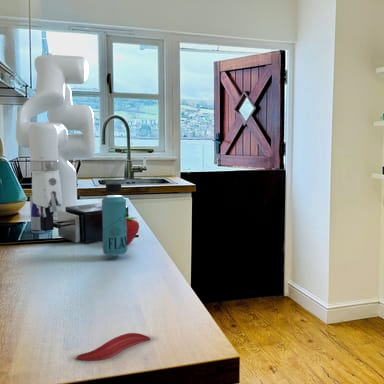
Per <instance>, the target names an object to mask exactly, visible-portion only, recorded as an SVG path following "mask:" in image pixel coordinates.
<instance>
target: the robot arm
mask: <svg viewBox="0 0 384 384" xmlns="http://www.w3.org/2000/svg"><path fill="white" fill-rule="evenodd" d="M34 69H35V72H36V84H35V93H34V94H33V95H32V96H30V97H29V98H28V99H27V100H26V101H25V102H24V103H23V104H22V105H21V107H20V108H19V110H18V112H17V115H16V124H15V140H16V143H17V144H18V145H19V146H20V147H21V148H25V149H26V148H27V149H29V167H30V170H29V171H30V173H32V175H31V196H32V199H33V203H34V204H36V205H37V208H38V209H39V215H40V216H42V217H40V228H41V230H43V231H48V230H49V231H53V230H54V229H55V227H54V222H58V212H57V211H64V212H66V211H65V210H66V209H65V207H70V206H78V185H77V184H78V183H77V181H78V180H77V170H76V168H75V167H74V166H73V164H72V163H71V162H70V160H91V159H93V158H94V157H95V155H96V131H95V130H96V129H95V115H94V112H93V111H94V110H93V109H92V107H91V106H90V105H89V104H88V105H87V104H76V103H75V104H74V103H73V97H72V94H73V93H72V90H71V89H72V88H71V87H70V86H69V85H83V84H84V83H86V81H87V79H88V76H89V64H88V61H87V59H86V58H85V57H84V56H78V55H62V54H60V55H59V54H43V55H42V54H41V55H38V56H36V57H35V58H34ZM46 112H47V121H48V122H41V121H39V122H37V121H35V122H34V121H31V120H32V119H33V118H34V117H36V116H38V115H40V114H43V113H46ZM69 131H79V132H80V133H69ZM49 231H48V232H49Z"/></svg>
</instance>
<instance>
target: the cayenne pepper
mask: <svg viewBox="0 0 384 384" xmlns="http://www.w3.org/2000/svg"><path fill="white" fill-rule="evenodd" d="M150 340H151V338H150V336H148V335H145V334H142V333H139V332H128V333H124V334H120V335H118V336H115V337H113V338H112V339H109V340H108V341H107V342H105V343H103V344H101V345H100V346H99V347H97V348H95V349H93V350H91V351H88V352H85V353H81V354H78V355H77V356H76V357H75V359H77V360H80V361H81V360H82V361H101V360H105V359H109V358H112V357H114V356H116V355H117V354H118V353H120V352H121V351H123V350H125V349H128V348H129V347H132V346H134V345H137V344H139V343H143V342H145V341H150Z"/></svg>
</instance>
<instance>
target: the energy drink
mask: <svg viewBox="0 0 384 384" xmlns="http://www.w3.org/2000/svg"><path fill="white" fill-rule="evenodd" d="M29 204H30V205H29V207H30V208H29V209H30V211H29V212H30V227H31V228H30V230H31V233H32V234H37V235H38V234H39V235H41V234H46V233H48V232H49V231H50V230H48V231H43V230H41V228H40V217H42V216H40V215H39V209H38V208H37V205H36V204H34V203H33V199H32V195H30V197H29Z"/></svg>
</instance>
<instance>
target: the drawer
mask: <svg viewBox="0 0 384 384" xmlns="http://www.w3.org/2000/svg"><path fill="white" fill-rule="evenodd" d="M57 212H58V221H53V222H54V229H57V234H58V237H60V238H64V239H66V240H69V241H71V242H74V243H81V242H80V239H83V240H84V239H85V226H84V214H80V213H77V212H73V211H66V212H64V211H57Z"/></svg>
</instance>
